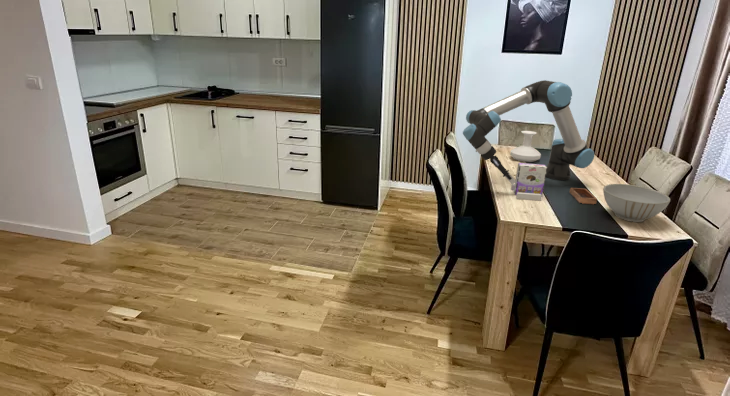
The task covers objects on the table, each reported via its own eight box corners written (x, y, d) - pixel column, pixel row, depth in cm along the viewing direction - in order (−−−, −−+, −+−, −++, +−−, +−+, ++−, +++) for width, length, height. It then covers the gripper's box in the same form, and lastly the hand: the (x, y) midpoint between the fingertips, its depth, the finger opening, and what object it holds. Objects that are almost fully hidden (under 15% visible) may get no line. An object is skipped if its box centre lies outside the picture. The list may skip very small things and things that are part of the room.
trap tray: (584, 193, 230) (585, 188, 229) (595, 204, 215) (597, 199, 214) (569, 192, 231) (570, 187, 230) (579, 203, 216) (580, 197, 215)
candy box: (540, 193, 227) (545, 164, 222) (542, 197, 222) (547, 167, 216) (513, 191, 230) (518, 162, 224) (514, 194, 225) (519, 165, 219)
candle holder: (542, 159, 296) (547, 132, 289) (536, 165, 280) (541, 136, 273) (513, 154, 306) (517, 128, 299) (505, 160, 290) (510, 132, 283)
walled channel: (533, 190, 233) (534, 185, 232) (540, 200, 218) (542, 195, 217) (510, 188, 234) (511, 183, 233) (516, 199, 219) (517, 193, 218)
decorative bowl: (637, 232, 184) (644, 206, 180) (585, 210, 207) (590, 186, 203) (676, 224, 195) (684, 199, 190) (622, 203, 218) (628, 181, 213)
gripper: (478, 151, 227) (505, 183, 231) (481, 158, 215) (510, 191, 219) (490, 142, 224) (517, 174, 228) (494, 148, 212) (522, 182, 216)
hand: (514, 182), depth 224 cm, fingers closed
